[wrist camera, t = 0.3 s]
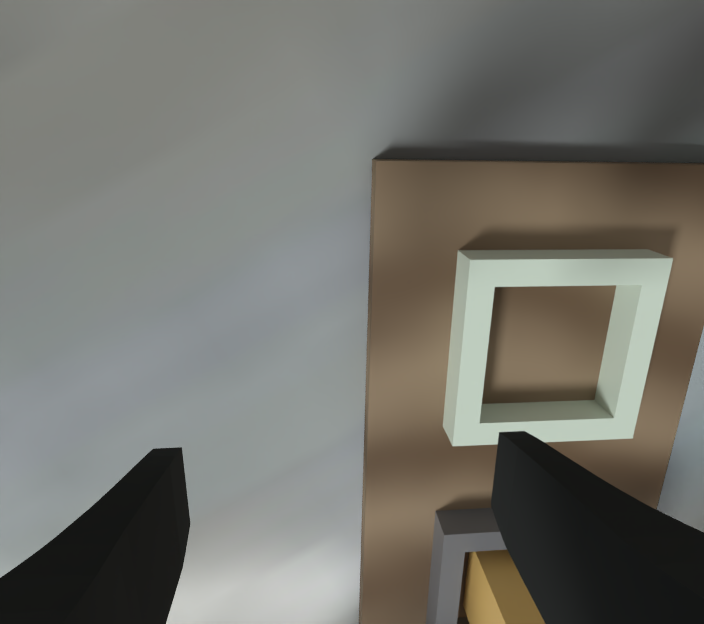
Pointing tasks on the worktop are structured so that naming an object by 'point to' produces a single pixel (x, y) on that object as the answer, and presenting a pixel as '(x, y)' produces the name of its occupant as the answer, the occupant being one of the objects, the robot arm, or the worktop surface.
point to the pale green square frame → (618, 358)
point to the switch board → (508, 338)
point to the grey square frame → (456, 557)
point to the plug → (497, 591)
